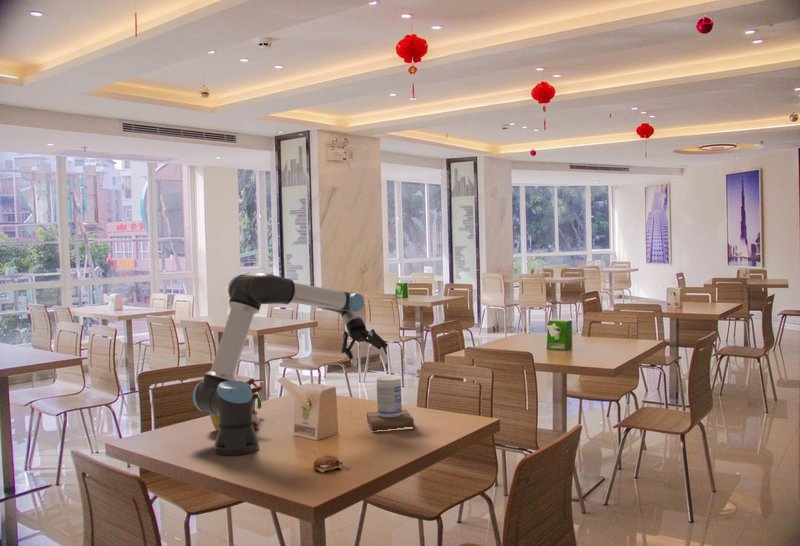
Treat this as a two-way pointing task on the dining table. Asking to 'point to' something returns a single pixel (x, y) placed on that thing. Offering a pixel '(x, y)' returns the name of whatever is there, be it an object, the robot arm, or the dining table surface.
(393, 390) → the supplement tub
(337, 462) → the hamburger
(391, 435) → the dining table surface
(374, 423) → the walnut stand
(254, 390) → the bucket of meat
